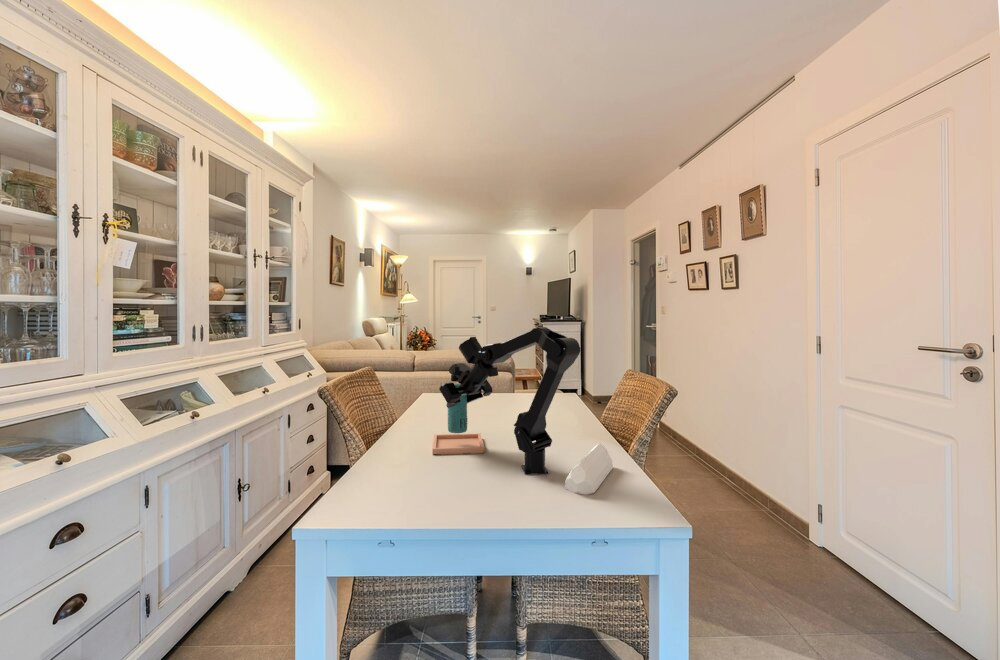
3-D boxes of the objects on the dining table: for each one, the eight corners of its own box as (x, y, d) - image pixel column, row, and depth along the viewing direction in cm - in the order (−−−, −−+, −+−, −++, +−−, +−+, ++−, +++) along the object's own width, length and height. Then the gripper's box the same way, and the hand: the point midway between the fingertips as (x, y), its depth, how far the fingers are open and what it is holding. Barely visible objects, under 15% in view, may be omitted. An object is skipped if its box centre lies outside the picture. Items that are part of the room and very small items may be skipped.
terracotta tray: (484, 453, 137) (484, 447, 137) (432, 454, 135) (432, 449, 135) (480, 438, 153) (480, 433, 153) (433, 439, 151) (433, 434, 151)
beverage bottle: (460, 439, 139) (460, 376, 138) (443, 436, 142) (442, 374, 142) (471, 434, 145) (471, 373, 144) (454, 431, 148) (454, 372, 147)
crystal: (583, 449, 130) (554, 475, 108) (604, 439, 127) (579, 465, 105) (595, 472, 128) (568, 504, 107) (616, 464, 125) (594, 495, 104)
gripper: (486, 353, 147) (463, 383, 155) (442, 357, 133) (420, 389, 141) (503, 379, 142) (479, 408, 150) (460, 386, 128) (436, 418, 136)
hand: (454, 405), depth 144 cm, fingers closed on beverage bottle, 6 cm apart
